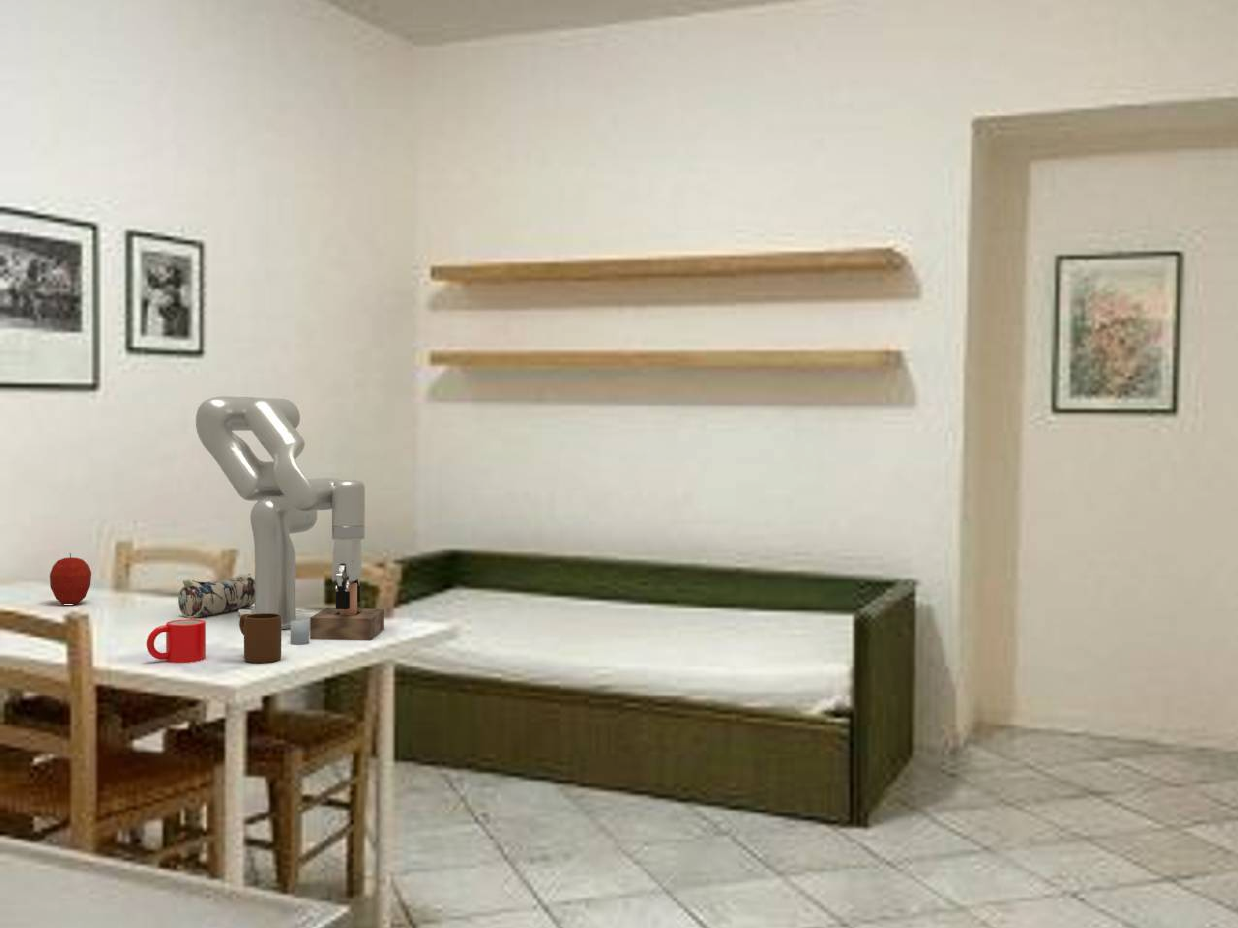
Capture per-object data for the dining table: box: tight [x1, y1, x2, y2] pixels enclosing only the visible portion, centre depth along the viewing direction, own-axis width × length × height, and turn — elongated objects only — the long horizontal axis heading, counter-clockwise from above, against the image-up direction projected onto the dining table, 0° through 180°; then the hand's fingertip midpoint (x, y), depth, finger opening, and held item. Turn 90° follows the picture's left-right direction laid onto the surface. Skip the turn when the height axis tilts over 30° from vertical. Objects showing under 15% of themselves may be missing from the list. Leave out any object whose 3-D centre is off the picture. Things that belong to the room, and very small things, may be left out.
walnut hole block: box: [309, 607, 385, 641], centre depth 290 cm, size 14×14×5 cm
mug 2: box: [238, 613, 282, 664], centre depth 260 cm, size 12×8×9 cm, turn 49°
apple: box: [49, 552, 92, 605], centre depth 328 cm, size 10×10×14 cm
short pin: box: [290, 619, 310, 646], centre depth 278 cm, size 4×4×5 cm
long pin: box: [340, 582, 358, 615], centre depth 290 cm, size 4×4×12 cm
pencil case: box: [177, 573, 255, 619], centre depth 318 cm, size 22×8×10 cm, turn 154°
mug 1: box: [146, 618, 207, 664], centre depth 257 cm, size 8×12×8 cm, turn 130°
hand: (348, 605), depth 290 cm, fingers open, 9 cm apart
